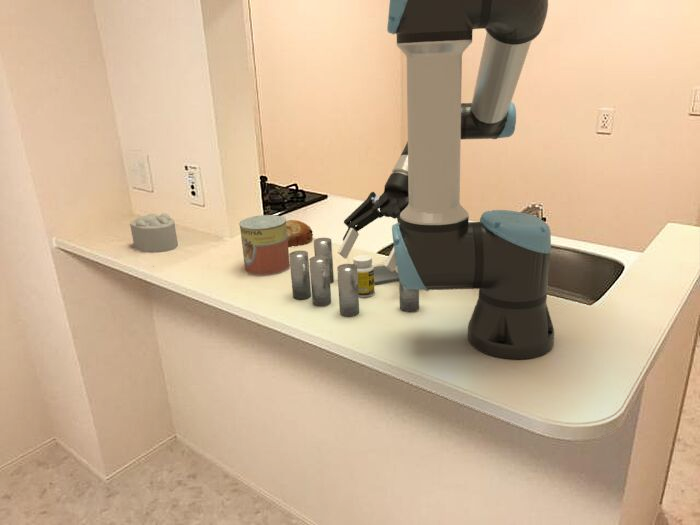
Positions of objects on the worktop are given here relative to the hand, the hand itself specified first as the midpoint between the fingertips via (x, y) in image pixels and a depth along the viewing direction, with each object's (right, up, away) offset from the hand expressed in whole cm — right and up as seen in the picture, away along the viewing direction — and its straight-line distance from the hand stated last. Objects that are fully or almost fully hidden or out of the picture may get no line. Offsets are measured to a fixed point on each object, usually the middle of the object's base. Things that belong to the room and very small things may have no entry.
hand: (364, 262), depth 130 cm
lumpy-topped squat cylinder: (-57, +4, +39) cm, 70 cm away
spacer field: (-3, -7, 0) cm, 8 cm away
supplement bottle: (0, -7, +1) cm, 7 cm away
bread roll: (-19, +6, +38) cm, 43 cm away
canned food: (-24, -2, +19) cm, 31 cm away
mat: (+3, -3, +10) cm, 11 cm away
